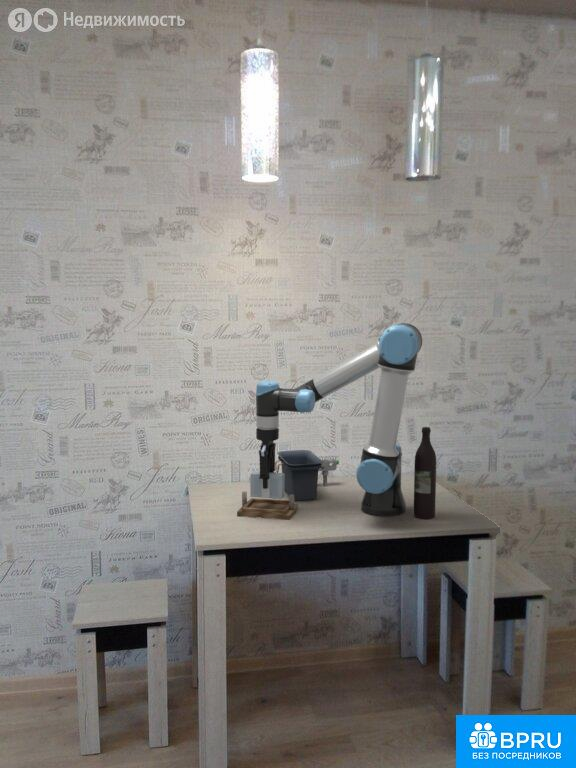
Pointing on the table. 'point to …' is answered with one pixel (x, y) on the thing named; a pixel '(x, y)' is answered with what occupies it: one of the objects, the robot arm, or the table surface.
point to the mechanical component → (328, 468)
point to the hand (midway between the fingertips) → (267, 495)
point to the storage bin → (300, 473)
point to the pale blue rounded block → (275, 485)
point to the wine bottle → (425, 478)
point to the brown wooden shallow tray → (267, 507)
